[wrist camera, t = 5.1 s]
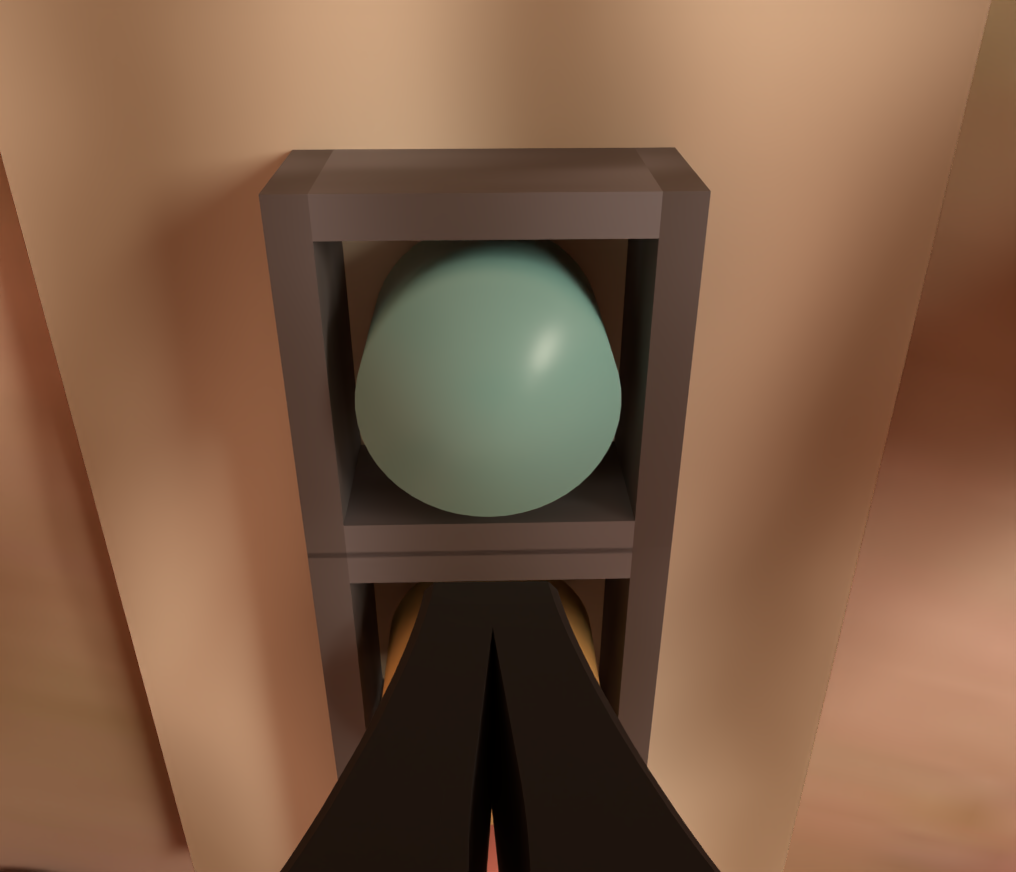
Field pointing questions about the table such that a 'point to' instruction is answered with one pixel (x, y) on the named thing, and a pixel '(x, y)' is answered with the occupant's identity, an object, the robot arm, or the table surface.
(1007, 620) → the table surface
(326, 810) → the robot arm
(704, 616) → the button board
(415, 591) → the ochre button
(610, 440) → the teal button
